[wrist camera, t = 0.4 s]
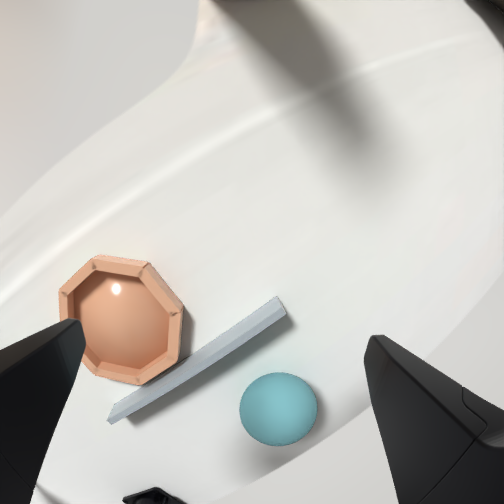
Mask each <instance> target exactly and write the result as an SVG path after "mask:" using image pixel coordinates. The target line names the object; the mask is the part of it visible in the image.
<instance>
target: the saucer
mask: <svg viewBox="0 0 504 504" xmlns="http://www.w3.org/2000/svg"><path fill="white" fill-rule="evenodd" d="M183 309H184V306H183V304H182V302H181V301H180V300H179V299H178V297H177V296H176V295H175V294H174V293H173V291H172V290H171V289H170V288H169V287H168V285H167V284H166V283H165V282H164V280H163V279H162V278H161V277H160V275H159V274H158V273H157V272H156V270H155V269H154V268H153V266H152V265H151V264H150V263H149V264H148V262H145V261H138V260H131V259H125V258H118V257H112V256H105V255H97V256H95V257H94V258H92V259H90V260H89V261H88V262H87V263H86V264H85V265H84V266H83V267H82V268H81V269H79V270H78V271H77V272H76V273H75V274H74V275H73V276H72V277H71V278H70V279H69V280H68V281H67V282H66V283H65V284H64V285H63V286H62V287H61V288H60V289H59V313H60V322H61V321H63V320H65V319H67V318H73V319H79V320H80V321H81V323H82V327H83V331H84V335H85V339H86V348H85V351H84V354H83V357H82V360H81V361H82V362H83V363H84V365H85V366H86V367H87V368H88V369H89V370H90V371H91V372H92V373H93V374H95V376H99V377H104V378H108V379H112V380H116V381H121V382H126V383H130V384H135V385H142V384H144V383H145V382H147V381H148V380H150V379H152V378H153V377H155V376H156V375H158V374H159V373H161V372H162V371H164V370H165V369H167V368H169V367H170V366H172V365H173V364H175V363H176V362H177V361H178V357H179V354H180V346H181V333H182V320H183Z"/></svg>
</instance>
